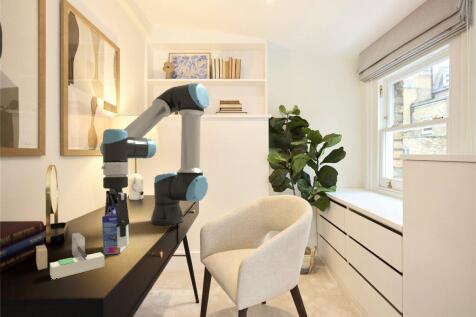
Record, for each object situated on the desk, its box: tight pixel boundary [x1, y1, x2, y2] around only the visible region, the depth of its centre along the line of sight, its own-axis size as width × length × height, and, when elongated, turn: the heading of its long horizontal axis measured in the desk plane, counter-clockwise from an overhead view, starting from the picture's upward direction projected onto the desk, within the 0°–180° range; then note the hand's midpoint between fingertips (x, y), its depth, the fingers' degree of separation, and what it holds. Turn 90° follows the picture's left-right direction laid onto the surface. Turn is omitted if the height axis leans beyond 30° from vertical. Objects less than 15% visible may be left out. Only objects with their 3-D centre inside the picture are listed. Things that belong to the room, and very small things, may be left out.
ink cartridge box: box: [101, 205, 130, 255], centre depth 88 cm, size 10×6×14 cm, turn 7°
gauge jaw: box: [71, 232, 88, 258], centre depth 78 cm, size 2×17×6 cm, turn 41°
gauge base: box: [35, 244, 105, 280], centre depth 75 cm, size 14×16×5 cm
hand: (116, 242), depth 88 cm, fingers closed on ink cartridge box, 11 cm apart
